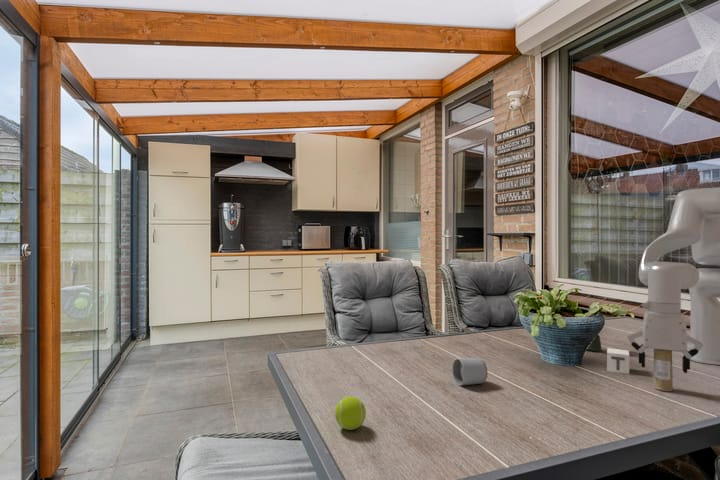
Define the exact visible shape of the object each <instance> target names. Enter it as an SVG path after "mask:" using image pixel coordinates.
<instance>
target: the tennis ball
mask: <svg viewBox="0 0 720 480" xmlns="http://www.w3.org/2000/svg"><path fill="white" fill-rule="evenodd" d="M334 415H335V421H336V423H337V424H338V425H339V427H341V428H342V429H345V430H349V431H353V430H356V429H359V427H361V426H362V425H363V423H364V422H365V419H366V415H367V413H366V407H365V405H364V402H363V401H362V400H361V399H359V398H357V397H354V396H345V397H344V398H342V399H340V401H338V403H337V405H336V407H335V410H334Z"/></svg>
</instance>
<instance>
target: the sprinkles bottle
mask: <svg viewBox="0 0 720 480" xmlns="http://www.w3.org/2000/svg"><path fill="white" fill-rule="evenodd" d="M673 370H674V369H673V351H668V350H659V349H653V388H654V389H655V390H658V391H661V392H672V391H674V387H673V377H674V371H673Z"/></svg>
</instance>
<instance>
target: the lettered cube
mask: <svg viewBox="0 0 720 480" xmlns="http://www.w3.org/2000/svg"><path fill="white" fill-rule="evenodd" d="M606 350H607V351H606V372H611V373H619V374H626V375H630V350H628V349H627V350H625V349H619V348H612V347H611V348H610V347H608V348H606Z"/></svg>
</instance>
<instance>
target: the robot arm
mask: <svg viewBox="0 0 720 480" xmlns="http://www.w3.org/2000/svg"><path fill="white" fill-rule="evenodd" d="M670 215H671V216H670V219H669V222H668V225H667V230H666V232H665V233H663V234H661V235H660V236H658V237H656V238H655V239H654V240H653V241H652V242H651V243H649V245H648V246H646V248H645V249H644V250H643V253H642V256H641V260H640V263H639V267H638V279H639V281H640V283H641V284H643V285H645V286H647V301H646V302H641V308H645V309H646V310H645V311H644V315H643V321H642V330H639V331H636V332H634V333H631V334H627V340H628V341H629V343H630V344H631V346H632V347H633V348H634V349H635V350H636V351H637V352H638V364H640V365H641V368H645V367H646V352H645V351H646V350H647V349H652V350H654V349H659V350H668V351H672V352H680V353H682V354H683V356H682V368H681V369H682V372H683V373H684V374H688V370H689V371H690V370H691V361H692V362H697V363H699V364H700V363H701V364H708V365H716V366H720V300H719V298H720V268H709V267H708V268H707V267H705V268H703V267H702V268H701V267H700V268H699V267H698V268H697V267H696V266H695V265H693V264H691V263H688V262H676V261H675V262H673V261H658V260H659V259H660V258H661V257H662V256H665V255H666V254H668V253H670V252H674V251H678V250H680V249H684V248H687V247H689V246H691V256H692V260H693V261H694V262H695V263H696V264H699V265H705V266H720V187H718V186H717V187H703V188H690V189H685V190H682V191H680V192H677V195H676V196H675V200H674V204H673V206H672V211H671V214H670ZM682 290H688V293H689V300H690V316H689V317H690V318H689V319H690V320H689V321H690V325H689V326H690V327H689V329H690V331H689V332H690V335H688V333H687V331H688V330H687V322H686V318H685V315H684V314H683V313H681V310H682V308H681V306H682V292H681V291H682ZM637 338H641V339H642V340H641V341H642V343H641V344H638V343H637V342H636V340H635V339H637ZM688 342H689V345H690V346H689V347H690V348H689V349H690V350H687V349H688Z"/></svg>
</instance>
